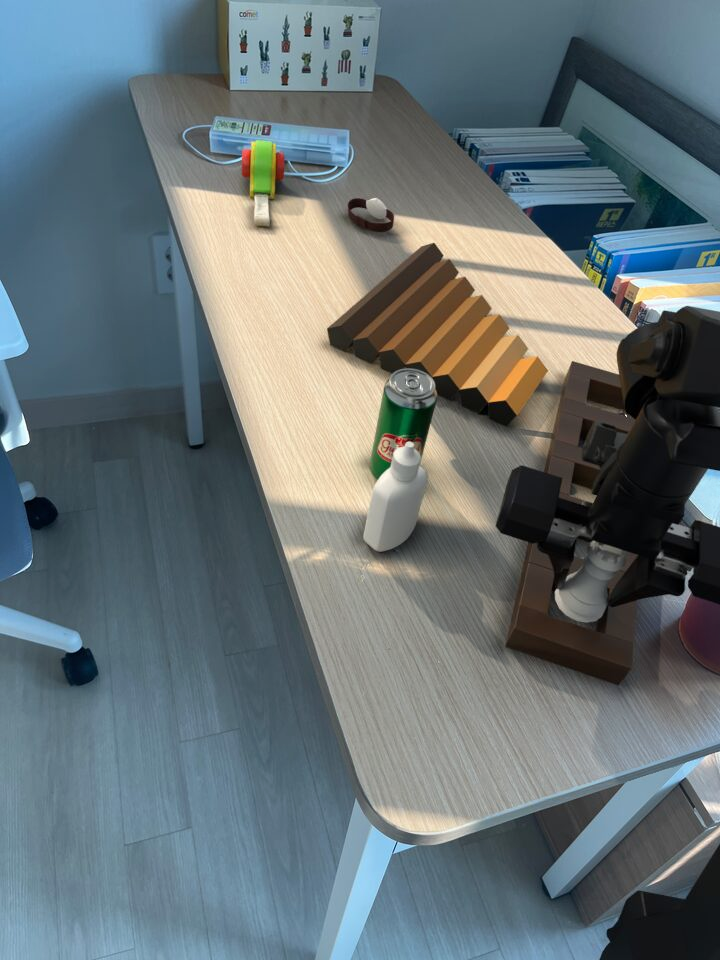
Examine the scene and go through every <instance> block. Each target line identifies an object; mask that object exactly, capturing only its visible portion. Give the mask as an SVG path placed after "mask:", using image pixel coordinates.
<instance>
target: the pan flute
mask: <svg viewBox="0 0 720 960" xmlns="http://www.w3.org/2000/svg"><path fill="white" fill-rule="evenodd" d="M443 258H444V254H443V253H442V251H441V249H440V248H439V247H438V245H437V244H436V243H435V242H431V243H428V244H424V245H421V246H420V247H419V248H418V249H416V251H414V252H413V253H412V254H411V255H410V256H408V257H407V258H406V259H405V260H404V261H402V263H401V264H399V265H398V266H397V267H396V268H394V270H392V271H391V272H390V273H389V274H387V276H385V278H383V279H382V280H381V281H380V282H379V283H378V284H376V285H375V286H374V287H373V288H371V290H369V291H368V292H367V293H366V294H365V295H364V296H362V297H361V298H360V299H359V300H358V301H357V302H356V303H354V305H352V306H351V307H350V308H349V309H348V310H347V311H345V312H344V313H343V314H342V315H341V316H339V318H337V319H336V320H334V322H333V323H332V324H331V325H329V326H328V327H327V328H326V331H327V337H328V342H329V346H331V347H333V348H335V349H338V350H339V351H342V352H344V353H346V352H348V351H349V350H350V349H351V348H352V347H353V352H354V357H355V358H356V359H359V360H361V361H363V362H366V363H368V364H370V365H372V364H373V363H374V362H375V361H376V360H377V359H379V365H380V366H379V367H380V369H381V370H383V371H385V372H387V373H390V374H391V375H392V374H393V373H394V372H396V371H397V370H400V369H406V368H410V369H417V370H420V371H423V372H425V373H426V374H428V375H429V376H430V377H431V378H432V379H433V380H434V382H435V387H436V388H435V389H436V391H437V396H439V397H441V398H443V399H445V400H448V401H450V402H451V401H452V400H453V399H454V398H455V396H456V395H457V394H458V393H459V397H460V398H459V399H460V406H461V407H462V408H465V409H467V410H469V411H472V412H474V413H476V414H479V413H481V411H482V410H484V408H485V407H486V405H487V406H488V409H487V410H488V419H489V420H490V421H493V422H494V423H498V424H499V425H502V426H504V427H506V428H507V427H508V426H509V425H510V424H511V423H512V422H513V421H515V419H516V418H517V416H518V415H519V414H520V413H521V411H522V410H523V408H524V406H525V405H526V404H527V403H528V401H529V399H530V398H531V397H532V395H533V394H534V392H535V391H536V389H537V388H538V386H539V385H540V384H541V382H542V381H543V379H544V378H545V376H546V374H547V373H548V372H549V369H548V368H547V367H546V365H545V363H544V362H543V361H542V360H541V358H540V357H539V356H537V355H536V356H530V357H524V355H525V354H526V353H527V352H528V350H529V347H528V346H527V345H526V343H525V342H524V340H523V339H522V338H521V336H520V335H519V334H514V335H507V336H505V335H506V334H507V332H508V331H509V330H510V326H509V325H508V323H507V322H506V321H505V319H504V318H503V317H502V315H501V314H500V313H499V314H494V315H489V314H490V312H491V311H492V309H493V308H492V306H491V305H490V304H489V302H488V301H487V300H486V299H485V297H484V296H483V294H480V295H476V296H472V295H473V294H474V292H475V291H476V289H475V288H474V286H473V285H472V283H470V281H469V280H468V278H467V277H466V276H462V277H458V275H459V274H460V272H459V270H458V269H457V267H456V266H455V265H454V263H453V261H451V259H450V258H448V259H444V260H442V259H443ZM457 277H458V278H457Z"/></svg>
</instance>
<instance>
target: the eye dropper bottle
mask: <svg viewBox="0 0 720 960" xmlns="http://www.w3.org/2000/svg"><path fill="white" fill-rule="evenodd" d="M420 461H421V462H422V459H421V456H420V454H419V452H418V451H417V450H415V449H414V444H413V443H412V442H407V443H406V444H405V446H404V447H400V448H398V449H396V450H395V451H394V453H393V458H392V462H391V467H390V468H389V469H387V470H386V471H385V472H384V473H383V474H382V475H381V476H380V478H379V479H378V480H376V482H375V484H374V486H373V489H372V492H371V497H370V501H369V506H368V512H367V517H366V520H365V526H364V530H363V538H362V539H363V541H364V542H365V543H366V544H367V545H368V546H369V547H370V548H372V549H373V550H374V551H376V552H377V553H378V552H379V553H381V552H386V551H390V550H392V549H395V548H396V547H399V546H400V545H402V544H404V542H405V541H406V540H407V539H408V538H409V537H410V536H411V535H412V533H413V531H414V530H415V528H416V525H417V521H418V518H419V514H420V511H421V507H422V503H423V499H424V495H425V493H426V492H425V491H426V488H427V483H428V480H429V479H428V478H429V476H428V475H429V474H428V472H427V470H426V469H425V468H424V467H423V466H421V463H420Z"/></svg>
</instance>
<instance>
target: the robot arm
mask: <svg viewBox="0 0 720 960" xmlns="http://www.w3.org/2000/svg"><path fill="white" fill-rule="evenodd" d="M616 363H617V370H618V374H619V377H620V383H621V389H622V395H623V401H624V407H625V411H626V413H627V414H628V415H630V416H631V417H632V418H634V419H635V420H636V421H635V422H634V424H633V426H632V428H631V430H630V432H629V434H625V433H621V432H616V431H615V430H616V426H615V425H611V424H608V423H605V422H601V421H598V420H594V422H593V424H592V426H591V428H590V430H589V432H588V435H587V437H586V440H584V442H583V445H582V447H581V448H582V460H583V461H585V462H588V463H592V464H595V465H598V466H599V468H600V471H599V473H598V475H597V477H596V479H595V481H594V483H593V487H592V490H591V495H593V496H595V498H594V500H593V502H592V503H589V502H590V501H588V502H586V501H587V500H585V501H583V502H582V504H578V503H575V502H572V501H569V500H565V499H562V498H559V493H560V488H561V483H562V478H561V477H558V476H555V475H552V474H549V473H545V472H544V471H542V470H538V469H536V468H532V467H529V466H526V465H523V464H521V465H518V466H516V467H515V468H513V469H512V470H511V471H510V474H509V477H508V480H507V483H506V486H505V488H504V493H503V497H502V500H501V504H500V508H499V511H498V515H497V518H496V521H495V528H496V529H497V531H499V533H500V534H502V535H505V536H508V537H511V538H513V539H517V540H520V541H524V542H526V543H528V542H529V543H532V544H534V543H537V548H538V550H539V551H540V552H542V553H545V554H547V555H548V556H549V559H550V561H551V564H552V567H553V570H554V580H555V588H556V589H561V587H562V586H563V585H564V583H565V581H566V578H567V575H568V573H569V570H570V568H571V565H572V562H573V560H574V556H575V553H576V548H577V542H578V541H577V540H578V539H577V537H578V536H580V535H581V536H584V537H587V538H591V540H593V541H596V542H599V543H602V544H605V545H609V546H612V547H615V548H618V549H621V550H624V551H627V552H630V553H633V554H636V555H638V556H637V557H636V559H635V560H634V561H633V563H632V564H631V565H630V566H629V568H628V569H627V570H626V572H625V573H624V574H623V576H622V577H621V578H620V580H619V581H618V582H617V584H616V585H615V587H614V589H613V591H612V593H611V594H610V597H609V602H608V606H610V607H616V606H619V605H623V604H626V603H630V602H633V601H637V600H638V601H641V600H644V599H645V600H646V599H651V598H655V597H656V598H657V597H662V596H667V595H668V596H669V595H670V596H673V597H681V596H682V595H683V594H684V593H685V591H686V576H687V575H688V572H690V573H691V571H692V570H693V571H692V575H691V576H690V577H689V579H688V580H687V588H688V590H689V591H690V593H691V594H692V596H693V597H695V598H698V599H700V600H704V601H708V602H710V603H713V604H716V605H719V606H720V526H718V525H715V524H712V523H709V522H706V521H703V520H697V519H694V521H693V522H692V524H690V526H689V527H688V526H685V525H682V524H680V523H681V522H682V520H683V519H684V517H685V508H686V504H687V502H688V500H689V499H690V498H691V496H692V494H693V493H694V492H695V490H696V489H697V486H699V484H700V482H701V480H702V479H703V478H704V476H705V474H706V473H707V471H708V470H712V471H716V472H717V471H718V472H720V310H719V311H718V310H713V309H708V308H703V307H697V306H691V305H685V306H683V307H681V308H680V309H677V311H671V310H662V312H661V313H660V316H659V318H658V320H657V321H656V322H655V321H654V322H651V323H647V324H644V325H642V326H639V327H636V328H635V329H634V330H632V331H631V332H630V333H628V334H627V335H626V336H625V337H623V339H621V340H620V342H619V344H618V346H617V349H616ZM638 601H637V602H638ZM605 933H606V934H605V935H606V938H607V939H608V941H609V942H608V943H607V944H606V945H605V947H604V949H603V950H602V951H601V954H600V957H599V960H720V843H719V844H718V846H717V847H716V849H715V850H714V852H713V854H712V855H711V856H710V858H709V860H708V862H707V863H706V865H705V867H704V868H703V870H702V871H701V872H700V875H699V876H698V877H697V879H696V880H695V883H694V884H693V886H692V887H691V889H690V890H689V892H688V894H687V895H686V897H685V898H682V897H678V896H677V897H676V896H670V895H665V894H660V893H655V892H649V891H645V890H639V889H638V890H636V891H635V892H634V893H633V894H631V895H630V896H629V897H627V899H626V900H625V902H624V904H623V907H622V909H621V912H620V915H619V916H618V919H617V921H616V922H615V923H614V924H613V926H611V927H609V928H607V929H606V932H605Z"/></svg>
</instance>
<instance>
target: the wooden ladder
mask: <svg viewBox="0 0 720 960" xmlns="http://www.w3.org/2000/svg"><path fill="white" fill-rule="evenodd" d="M568 367H569V368H568V369H567V372H566V375H565V377H564V380H563V384H562V388H561V393H560V396H559V397H560V398H559V402H558V407H557V411H556V415H555V420H554V425H553V429H552V434H551V438H550V443H549V448H548V451H547V456H546V461H545V466H544V470H543V472H545V473H549V474H552V475H555V476H558V477H561V478H562V483H561V488H560V493H559V498H562V499H565V500H569V501H572V502H575V503H578V504H582V502H583V501H586V502H589V503H593V502H592V501H588V500H585V499H581V498H579V497H577V496H572V495H570V493H571V487H572V485H575V486H579V487H582V488H585V489H588V490H591V491H592V487H593V483H594V481H595V479H596V477H597V475H598V473H599V471H600V468H599V466H598V465H595V464H592V463H588V462H585V461H583V460H582V448H583V447H579V443H580V440H583V441H585V440H586V437H587V435H588V432H589V430H590V428H591V426H592V424H593V422H594V420H598V421H601V422H605V423H608V424H611V425H615V426H616V430H615V431H616V432H621V433H625V434H629V432H630V430H631V428H632V426H633V424H634V422H635V421H636V420H635V419H634V418H632V417H631V416H630V415H628V414H627V413H626V411H625V407H624V401H623V395H622V389H621V383H620V377H619V373H616V372H612V371H609V370H606V369H605V370H604V369H602V368H598V367H595V366H592V365H588V364H584V363H580V362H577V361H574V360H572V361H571V362H570V365H569V366H568ZM587 401H591V402H594V403H598V404H601V405H604V406H608V407H611V408H615V409H618V410H622V414H619V413H615V412H612V411H609V410H606V409H602V408H598V407H596V406H595V407H594V406H592V405H589V404H587ZM625 414H626V415H627V417H626V416H625ZM577 540H580V541H582V542H586V543H588V544H589V543H590V542H592V541H593V540H591V538H587V537H584V536H581V535H580V536H578V537H577ZM625 555H626V564H625V566H624V567H623V568H622V569H620V570H619V571H617V573H616V575H615V577H613V578H612V579H610V580H609V582H608V585H607V594H608V602H609V597H610V594H611V593H612V591H613V589H614V587H615V585H616V584H617V582H618V581H619V580H620V578H621V577H622V576H623V574H624V573H625V572H626V570H627V569H628V568H629V566H630V565H631V564H632V563H633V561H634V560H635V559H636V557H637V556H638V555H636V554H633V553H630V552H627V551H626V554H625ZM583 560H584V557H583V558H582V557H579V556H576V555H574V560H573V562H572V565H571V568H570V570H569V573H568V575H570V574H573V573H575V572H578V570H579V569H580V568H581V567H582V566H583ZM568 575H567V576H568ZM519 577H520V578H519V583H518V587H517V591H516V596H515V601H514V604H513V609H512V613H511V618H510V624H509V626H508V632H507V637H506V641H505V648H508V649H511V650H514V651H517V652H519V653H522V654H526V655H529V656H532V657H534V658H538V659H540V660H543V661H546V662H549V663H552V664H555V665H558V666H560V667H564V668H566V669H569V670H572V671H575V672H578V673H581V674H584V675H586V676H588V677H593V678H595V679H597V680H601V681H604V682H607V683H610V684H613V685H616V686H620V685H621V683H622V682H623V681H624V680H625V679H626V677H627V676H628V674H629V673H630V672H631V670H632V669H633V660H634V647H635V636H636V625H637V611H638V601H639V600H637V601H633V602H630V603H626V604H623V605H619V606H616V607H610V606H608V604H607V606H606V609H605V611H604V613H603V615H602V617H601V618H599V619H598V620H596V625H595V626H596V627H595V630H594V629H591V628H587V627H585V626H582V625H580V624H579V625H578V624H576V623H572V622H570V621H567V620H564V619H561V618H558V617H555V616H552V615H549V608H550V602H551V596H552V593H555V591H556V588H555V580H554V570H553V567H552V564H551V561H550V559H549V556H548V555H547V554H545V553H542V552H540V551H539V550H538V548H537V543H534V544H532V543H529V542H527V547H526V551H525V555H524V560H523V564H522V569H521V573H520V576H519Z"/></svg>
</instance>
